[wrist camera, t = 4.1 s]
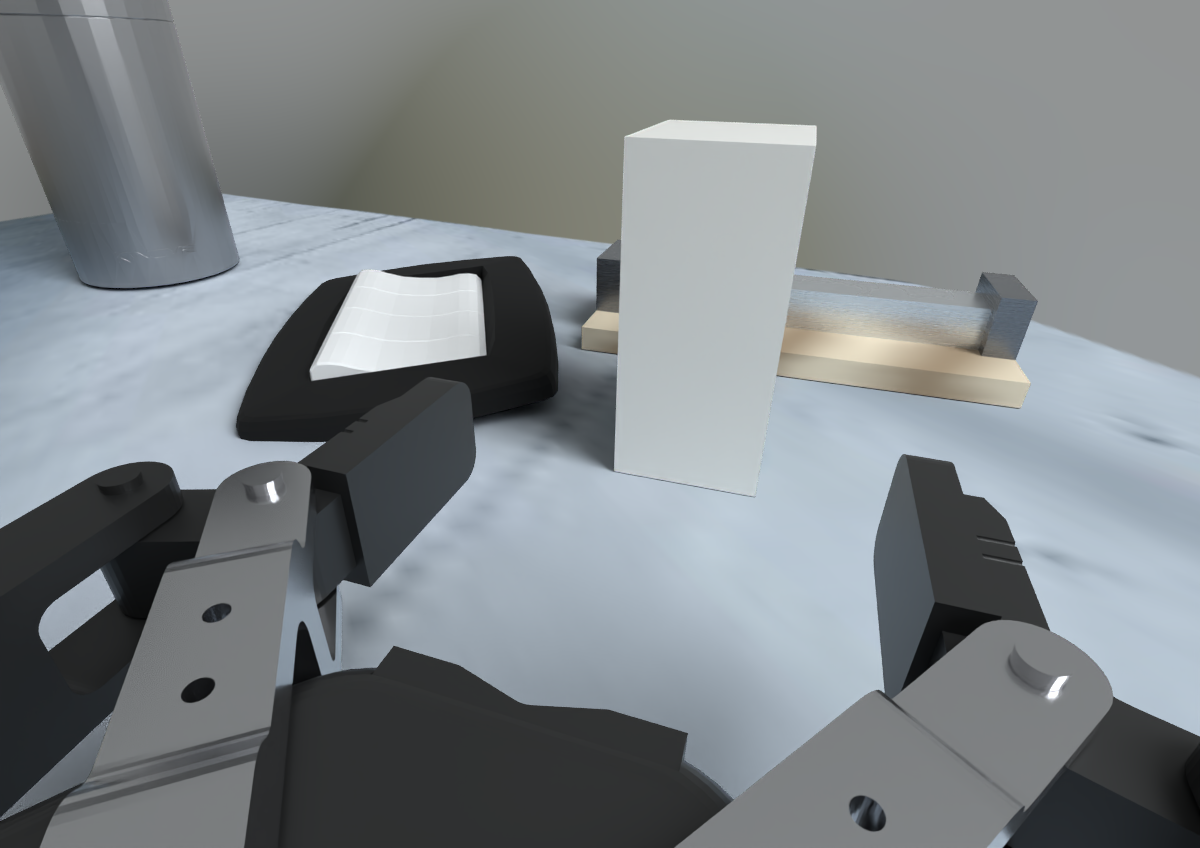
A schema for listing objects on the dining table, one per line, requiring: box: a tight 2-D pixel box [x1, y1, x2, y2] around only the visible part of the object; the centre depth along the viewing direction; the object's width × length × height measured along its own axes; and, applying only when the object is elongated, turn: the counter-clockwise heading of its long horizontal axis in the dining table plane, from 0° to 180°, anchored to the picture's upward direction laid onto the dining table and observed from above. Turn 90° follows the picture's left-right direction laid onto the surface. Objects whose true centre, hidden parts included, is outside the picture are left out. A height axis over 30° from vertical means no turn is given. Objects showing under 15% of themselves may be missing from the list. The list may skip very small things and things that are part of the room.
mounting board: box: [582, 311, 1031, 408], centre depth 33 cm, size 20×9×1 cm, turn 73°
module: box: [614, 120, 817, 497], centre depth 22 cm, size 5×7×11 cm
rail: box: [596, 240, 1038, 360], centre depth 32 cm, size 20×4×3 cm, turn 73°
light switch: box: [236, 256, 558, 442], centre depth 32 cm, size 20×3×14 cm
